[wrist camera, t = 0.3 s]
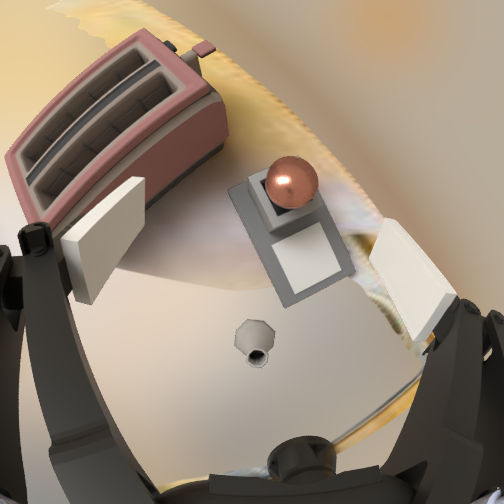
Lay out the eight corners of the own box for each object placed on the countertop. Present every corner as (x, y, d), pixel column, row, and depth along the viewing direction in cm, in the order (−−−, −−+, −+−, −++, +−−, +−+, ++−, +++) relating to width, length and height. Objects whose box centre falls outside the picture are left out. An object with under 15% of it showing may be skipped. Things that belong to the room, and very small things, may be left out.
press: (351, 270, 48) (375, 273, 38) (283, 306, 48) (293, 319, 38) (298, 161, 48) (310, 139, 38) (228, 192, 48) (223, 176, 38)
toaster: (251, 133, 48) (255, 65, 27) (103, 255, 47) (32, 255, 26) (192, 74, 48) (174, 6, 27) (62, 184, 47) (-3, 158, 26)
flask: (282, 328, 48) (291, 346, 38) (264, 362, 47) (268, 386, 37) (244, 312, 47) (244, 326, 38) (227, 347, 47) (223, 368, 37)
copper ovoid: (311, 205, 41) (327, 193, 33) (273, 223, 41) (281, 215, 32) (292, 168, 41) (303, 149, 33) (254, 185, 41) (257, 168, 32)
